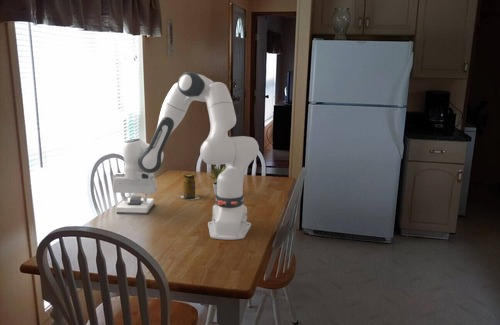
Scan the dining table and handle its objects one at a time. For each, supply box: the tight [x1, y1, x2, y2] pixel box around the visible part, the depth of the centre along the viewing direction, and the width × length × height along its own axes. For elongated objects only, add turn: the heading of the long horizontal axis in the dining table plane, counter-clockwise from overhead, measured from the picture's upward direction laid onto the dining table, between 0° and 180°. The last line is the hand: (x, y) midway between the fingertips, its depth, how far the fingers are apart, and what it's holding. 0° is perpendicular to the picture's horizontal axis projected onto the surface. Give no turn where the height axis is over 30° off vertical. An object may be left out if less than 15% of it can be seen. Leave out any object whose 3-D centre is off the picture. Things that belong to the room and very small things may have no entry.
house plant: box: [207, 164, 228, 196], centre depth 232 cm, size 14×14×16 cm
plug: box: [130, 195, 142, 205], centre depth 211 cm, size 5×4×5 cm
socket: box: [115, 197, 155, 215], centre depth 211 cm, size 14×14×3 cm
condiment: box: [179, 173, 200, 201], centre depth 228 cm, size 7×8×12 cm
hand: (135, 201), depth 211 cm, fingers open, 8 cm apart
